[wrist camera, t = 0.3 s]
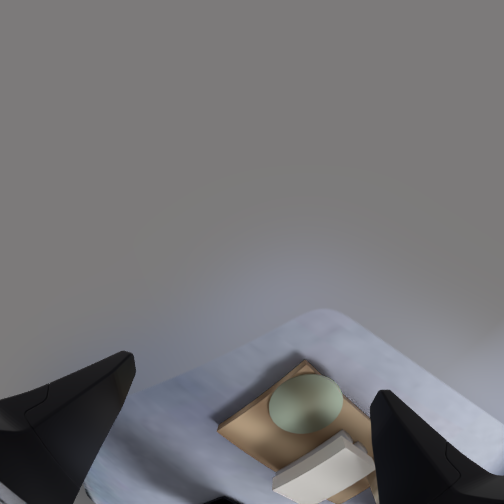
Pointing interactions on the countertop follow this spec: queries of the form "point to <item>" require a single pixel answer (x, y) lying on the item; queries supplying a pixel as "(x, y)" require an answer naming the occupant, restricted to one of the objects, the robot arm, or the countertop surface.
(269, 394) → the wooden board
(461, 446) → the countertop surface
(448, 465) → the robot arm
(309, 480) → the slab
